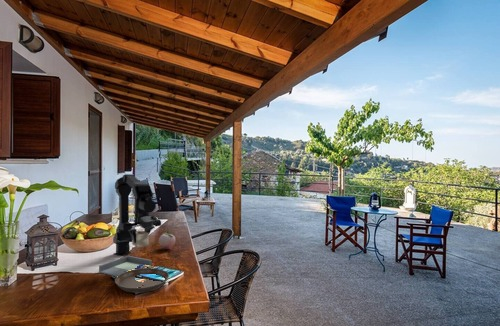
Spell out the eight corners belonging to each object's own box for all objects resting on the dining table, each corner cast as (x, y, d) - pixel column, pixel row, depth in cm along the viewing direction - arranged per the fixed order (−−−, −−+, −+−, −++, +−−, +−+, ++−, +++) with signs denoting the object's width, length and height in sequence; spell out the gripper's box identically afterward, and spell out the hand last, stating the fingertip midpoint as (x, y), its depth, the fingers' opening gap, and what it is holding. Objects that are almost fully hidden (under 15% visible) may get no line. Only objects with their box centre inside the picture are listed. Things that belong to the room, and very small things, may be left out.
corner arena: (98, 272, 136) (99, 265, 137) (128, 261, 152) (128, 255, 152) (124, 278, 131) (124, 271, 131) (151, 266, 146) (151, 260, 146)
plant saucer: (167, 293, 117) (167, 285, 117) (109, 297, 112) (109, 288, 112) (170, 274, 137) (170, 267, 137) (121, 276, 133) (121, 269, 133)
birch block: (138, 247, 142) (138, 234, 142) (132, 244, 147) (132, 231, 147) (148, 245, 146) (148, 232, 146) (142, 242, 151) (142, 230, 151)
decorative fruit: (155, 250, 173) (155, 232, 173) (164, 246, 181) (164, 229, 181) (168, 252, 170) (169, 234, 170) (177, 248, 177) (178, 231, 177)
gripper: (128, 213, 134) (127, 249, 134) (167, 210, 147) (166, 242, 147) (118, 210, 142) (117, 244, 142) (156, 207, 155) (155, 237, 155)
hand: (140, 242), depth 147 cm, fingers closed on birch block, 5 cm apart
